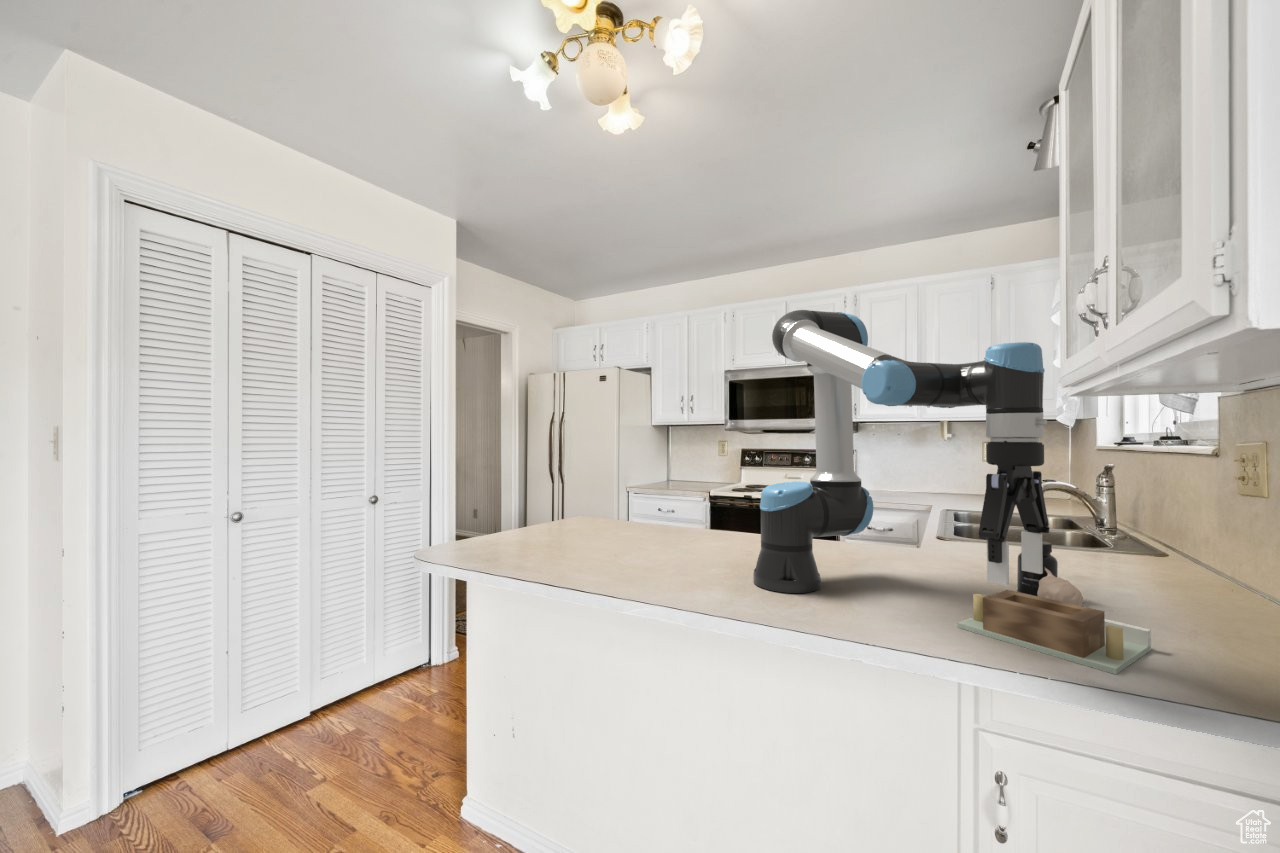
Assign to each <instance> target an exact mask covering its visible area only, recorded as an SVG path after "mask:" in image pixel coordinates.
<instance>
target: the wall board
mask: <svg viewBox="0 0 1280 853" xmlns="http://www.w3.org/2000/svg"><path fill="white" fill-rule="evenodd" d="M972 596H973V598H972V599H973V600H972V602H973V603H972V604H973V605H972V606H973V607H972V608H973V610H972V611H973V613H972V614H973V616H972V617H969V618H967V619H964V620H960V621H959V622H957V623H956V624H957V626H956V627H957V628H958V629H962V630H965V631H968V632H972V633H976V634H979V635H982V636H986V637H988V638H989V637H990V638H992V639H995V640H998V641H1002V642H1005V643H1009V644H1012V645H1016V646H1019V647H1022V648H1026V649H1029V650H1032V651H1035V652H1036V651H1037V652H1039V653H1042V654H1046V655H1048V656H1053V657H1056V658H1059V659H1063V660H1067V661H1070V662H1073V663H1076V664H1080V665H1083V666H1087V667H1090V668H1094V669H1097V670H1100V671H1102V672H1103V671H1104V672H1106V673H1110V674H1112V675H1113V674H1114V675H1117V674H1119V673H1120V672H1122V671H1123V670H1124V669H1126V668H1127V667H1129V666H1130V665H1131V664H1133V663H1134V662H1136V661H1137V660H1139V659H1140V658H1142V657H1143V656H1145V655H1146V654H1147V653H1149V652H1150V651H1151V650H1152V647H1151V646H1152V642H1151V641H1152V639H1151V638H1152V637H1151V636H1152V634H1151V633H1152V632H1151V629H1150V628H1145V627H1141V626H1137V625H1132V624H1128V623H1124V622H1120V621H1116V620H1113V619H1111V620H1110V619H1107V618H1105V646H1103V647H1102V648H1100V649H1098V650H1097V651H1095V652H1093V653H1091V654H1090V655H1088V656H1086V657H1085V658H1080V657H1077V656H1073V655H1070V654H1067V653H1063V652H1060V651H1056V650H1053V649H1049V648H1046V647H1042V646H1039V645H1035V644H1032V643H1029V642H1025V641H1022V640H1018V639H1015V638H1011V637H1008V636H1004V635H1001V634H997V633H994V632H991V631H987V630H984V629H983V598H984V597H987V595H985V594H982V593H973V594H972Z"/></svg>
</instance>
